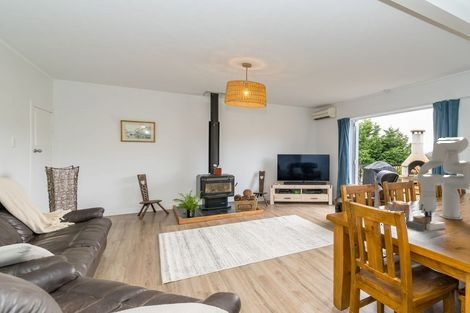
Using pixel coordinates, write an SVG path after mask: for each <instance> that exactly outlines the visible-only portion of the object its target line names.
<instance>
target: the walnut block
mask: <svg viewBox="0 0 470 313" xmlns="http://www.w3.org/2000/svg"><path fill="white" fill-rule="evenodd" d="M412 220H413V222H416V223H419V224H423V225H424V230H427V229H426V224H430V223H431V222H430V217H426V216H425V215H413V216H412Z"/></svg>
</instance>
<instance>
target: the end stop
mask: <svg viewBox="0 0 470 313" xmlns="http://www.w3.org/2000/svg"><path fill="white" fill-rule="evenodd" d="M406 224H407V228H409V229H413V230H417V231H419V232H424V230H425V229H424V225H423V224H419V223H416V222H412V220H410V219H409V220H406V221H405V225H406Z"/></svg>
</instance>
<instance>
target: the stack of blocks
mask: <svg viewBox="0 0 470 313" xmlns="http://www.w3.org/2000/svg"><path fill="white" fill-rule="evenodd" d="M386 203H387V205H386V206H387V211H388V210H390V211H404V213H405V217H406V220H409V221H410V208H411V206H410V204H408V203H407V202H405V201H402V200H392V201H387V202H386Z"/></svg>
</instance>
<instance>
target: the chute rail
mask: <svg viewBox="0 0 470 313" xmlns="http://www.w3.org/2000/svg"><path fill="white" fill-rule="evenodd" d="M441 229H446V222H444V221H438V222H432V223H431V222H430V224H426V229H425V230H426V231H427V230H428V231H435V230H441Z"/></svg>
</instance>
